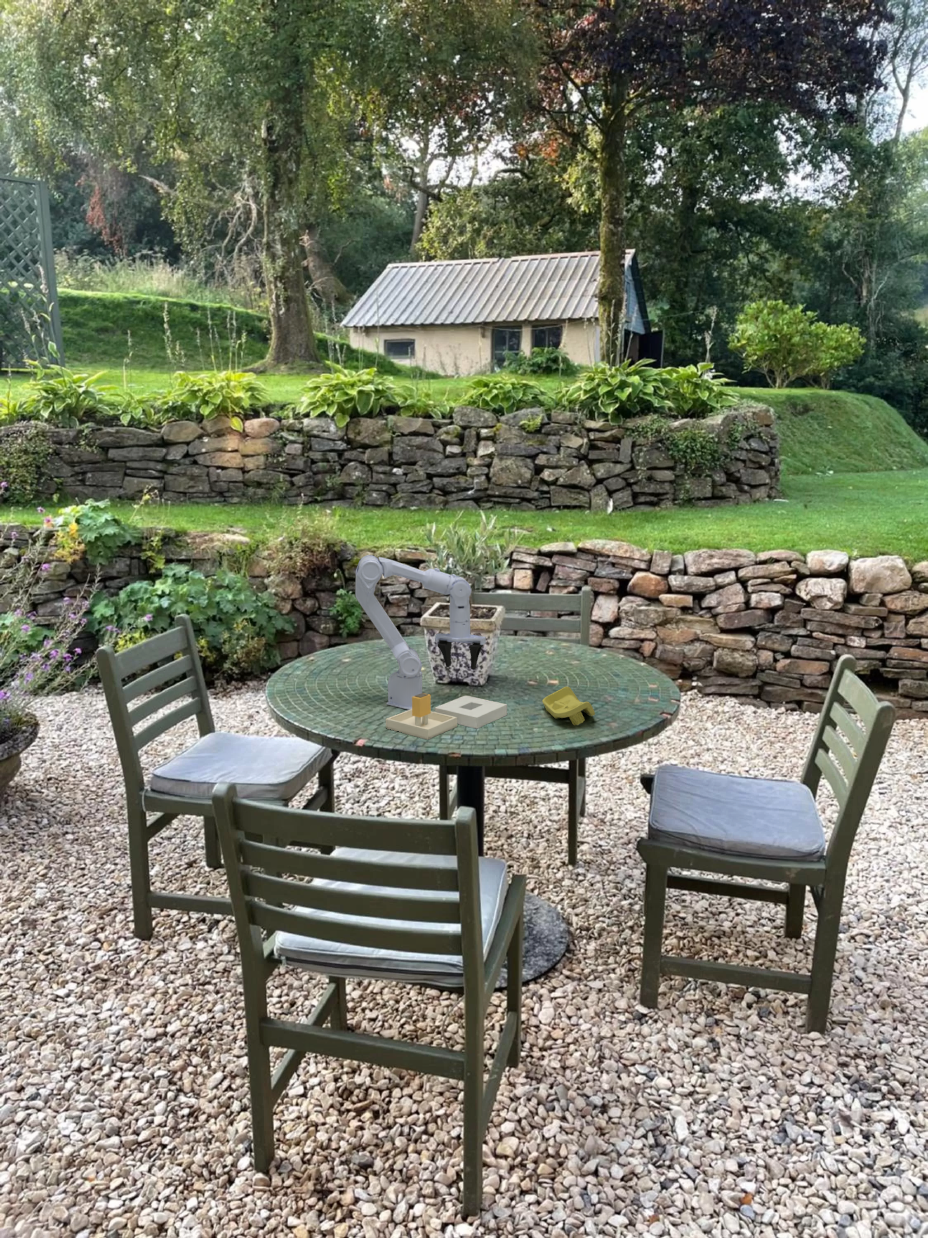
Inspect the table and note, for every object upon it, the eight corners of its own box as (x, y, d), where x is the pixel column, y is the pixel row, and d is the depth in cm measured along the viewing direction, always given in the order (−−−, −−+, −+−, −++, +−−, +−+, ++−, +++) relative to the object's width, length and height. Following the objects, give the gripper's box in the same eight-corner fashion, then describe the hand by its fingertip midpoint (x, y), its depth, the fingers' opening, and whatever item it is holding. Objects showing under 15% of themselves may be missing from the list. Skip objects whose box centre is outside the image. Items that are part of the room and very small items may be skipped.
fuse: (412, 726, 213) (411, 696, 212) (423, 722, 217) (422, 692, 215) (420, 728, 212) (419, 698, 210) (430, 724, 215) (430, 694, 214)
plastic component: (540, 699, 231) (571, 683, 232) (551, 722, 232) (582, 705, 233) (558, 716, 212) (592, 698, 212) (570, 741, 213) (604, 723, 214)
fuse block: (434, 718, 222) (434, 707, 221) (465, 705, 233) (465, 695, 232) (477, 728, 214) (477, 717, 213) (506, 715, 225) (507, 704, 224)
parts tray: (385, 728, 214) (385, 718, 213) (415, 716, 223) (415, 707, 223) (428, 739, 206) (427, 729, 205) (456, 726, 215) (456, 717, 215)
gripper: (430, 621, 230) (431, 669, 232) (479, 624, 224) (480, 673, 227) (440, 616, 236) (441, 662, 239) (488, 619, 231) (488, 666, 234)
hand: (461, 667), depth 233 cm, fingers open, 7 cm apart
